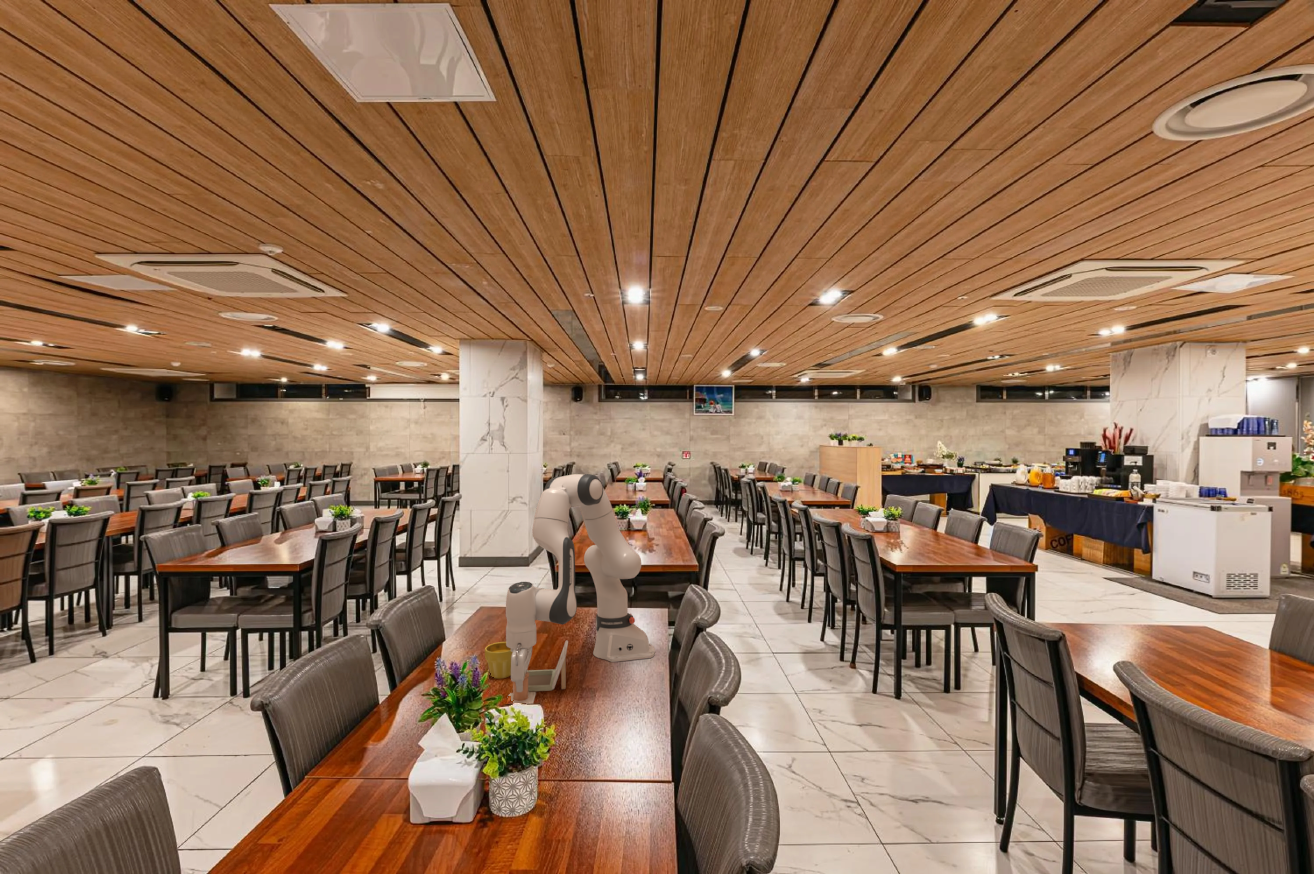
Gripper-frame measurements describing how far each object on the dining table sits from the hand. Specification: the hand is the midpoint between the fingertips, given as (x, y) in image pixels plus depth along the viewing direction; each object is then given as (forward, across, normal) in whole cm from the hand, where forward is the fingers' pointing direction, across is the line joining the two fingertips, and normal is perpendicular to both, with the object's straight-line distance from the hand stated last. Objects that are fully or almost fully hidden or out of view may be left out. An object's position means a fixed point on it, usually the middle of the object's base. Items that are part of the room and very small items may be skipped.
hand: (521, 684), depth 182 cm
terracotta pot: (+4, 0, 0) cm, 4 cm away
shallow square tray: (+5, +12, -3) cm, 13 cm away
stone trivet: (+5, 0, 0) cm, 5 cm away
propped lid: (+5, +12, -10) cm, 17 cm away
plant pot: (+5, +20, +9) cm, 23 cm away
